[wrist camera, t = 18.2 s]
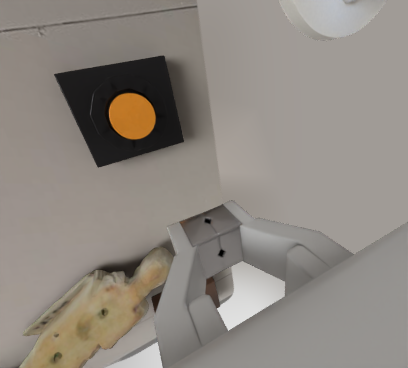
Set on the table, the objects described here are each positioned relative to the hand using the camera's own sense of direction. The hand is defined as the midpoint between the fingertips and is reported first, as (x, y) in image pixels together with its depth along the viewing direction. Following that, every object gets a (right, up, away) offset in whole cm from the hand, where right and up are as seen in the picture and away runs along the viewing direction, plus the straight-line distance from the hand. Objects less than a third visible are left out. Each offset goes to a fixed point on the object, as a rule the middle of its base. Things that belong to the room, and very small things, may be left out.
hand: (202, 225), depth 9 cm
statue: (-18, -17, +22) cm, 33 cm away
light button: (-7, +8, +11) cm, 16 cm away
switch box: (-8, +10, +14) cm, 19 cm away
